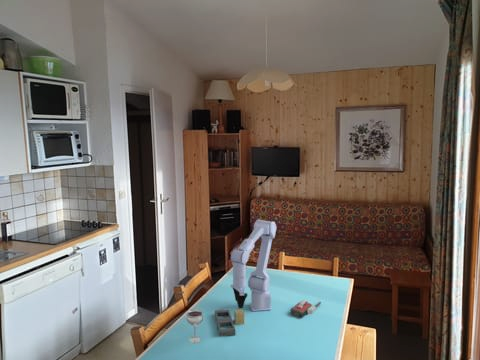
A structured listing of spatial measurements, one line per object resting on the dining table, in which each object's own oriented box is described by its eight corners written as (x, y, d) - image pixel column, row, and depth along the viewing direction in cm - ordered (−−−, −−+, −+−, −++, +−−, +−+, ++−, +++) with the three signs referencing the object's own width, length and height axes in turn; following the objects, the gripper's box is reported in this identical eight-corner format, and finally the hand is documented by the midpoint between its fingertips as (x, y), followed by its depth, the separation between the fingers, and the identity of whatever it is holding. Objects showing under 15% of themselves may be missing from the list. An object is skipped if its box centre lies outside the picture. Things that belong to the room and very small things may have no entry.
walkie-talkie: (305, 321, 176) (322, 305, 193) (305, 312, 176) (322, 297, 192) (288, 315, 182) (306, 300, 198) (288, 306, 181) (306, 292, 197)
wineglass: (189, 345, 155) (189, 318, 153) (185, 337, 161) (184, 311, 159) (205, 342, 157) (205, 315, 156) (200, 334, 164) (200, 308, 162)
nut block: (242, 319, 177) (242, 309, 176) (244, 323, 173) (244, 313, 172) (234, 320, 176) (234, 310, 175) (235, 324, 172) (235, 314, 172)
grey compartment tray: (229, 313, 183) (229, 309, 182) (235, 335, 163) (235, 330, 163) (214, 314, 182) (214, 310, 181) (219, 336, 162) (219, 332, 162)
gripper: (228, 270, 178) (228, 298, 180) (233, 282, 164) (233, 312, 166) (243, 269, 179) (243, 297, 181) (248, 281, 165) (248, 310, 167)
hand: (239, 304), depth 173 cm, fingers open, 7 cm apart
